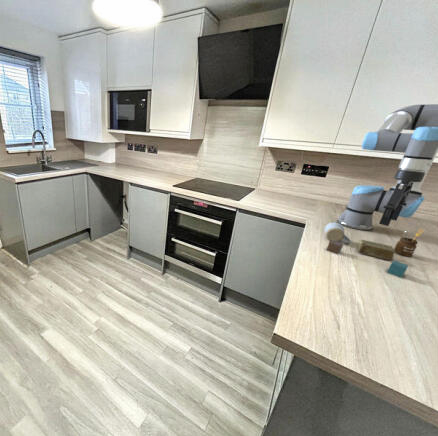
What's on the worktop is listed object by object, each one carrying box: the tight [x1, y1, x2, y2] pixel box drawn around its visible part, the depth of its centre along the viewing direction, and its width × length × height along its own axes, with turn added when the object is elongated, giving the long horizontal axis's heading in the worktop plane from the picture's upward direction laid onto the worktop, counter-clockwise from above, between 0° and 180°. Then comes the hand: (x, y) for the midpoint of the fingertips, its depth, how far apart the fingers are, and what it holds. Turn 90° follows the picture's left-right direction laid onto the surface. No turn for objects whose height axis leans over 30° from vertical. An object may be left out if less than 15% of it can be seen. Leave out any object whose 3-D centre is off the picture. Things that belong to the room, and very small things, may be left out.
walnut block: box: [326, 240, 344, 254], centre depth 103 cm, size 4×4×4 cm
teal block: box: [386, 260, 410, 278], centre depth 88 cm, size 4×4×4 cm
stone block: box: [357, 239, 396, 261], centre depth 101 cm, size 6×12×5 cm, turn 56°
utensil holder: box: [393, 228, 425, 257], centre depth 102 cm, size 6×6×12 cm
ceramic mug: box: [324, 221, 352, 244], centre depth 113 cm, size 11×8×8 cm
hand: (387, 222), depth 97 cm, fingers open, 13 cm apart
